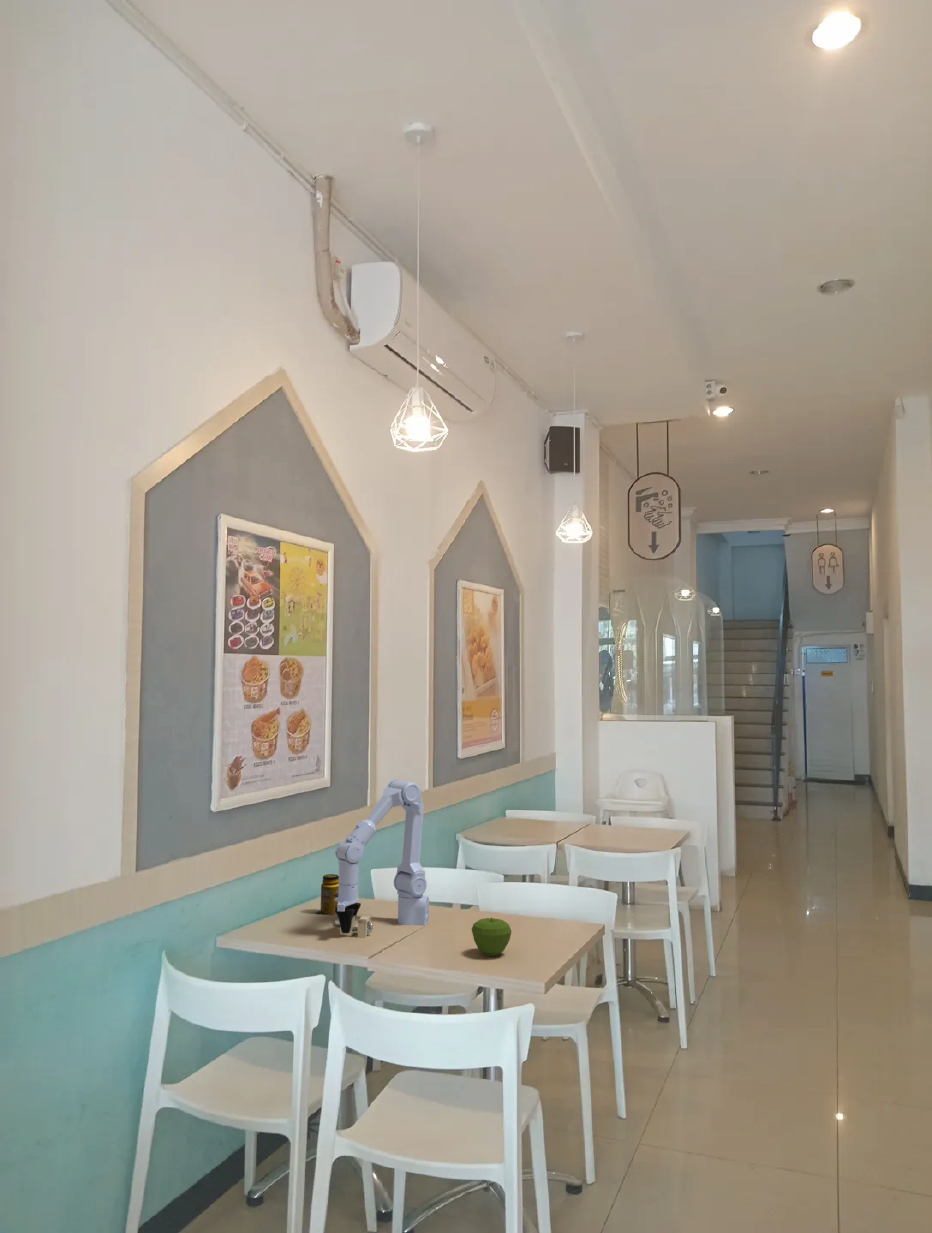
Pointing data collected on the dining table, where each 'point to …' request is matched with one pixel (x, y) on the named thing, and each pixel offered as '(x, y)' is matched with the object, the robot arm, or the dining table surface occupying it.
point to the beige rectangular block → (355, 928)
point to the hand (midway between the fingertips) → (347, 930)
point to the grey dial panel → (363, 926)
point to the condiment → (329, 894)
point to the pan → (337, 922)
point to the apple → (491, 935)
